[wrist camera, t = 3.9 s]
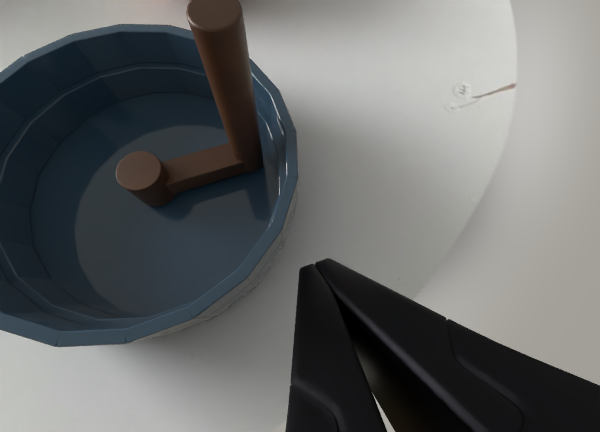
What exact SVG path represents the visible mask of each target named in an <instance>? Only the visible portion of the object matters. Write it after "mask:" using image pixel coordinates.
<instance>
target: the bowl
mask: <svg viewBox="0 0 600 432" xmlns="http://www.w3.org/2000/svg"><path fill="white" fill-rule="evenodd" d="M249 60H250V67H251V74H252V81H253V88H254V96H255V103H256V110H257V117H258V124H259V131H260V138H261V145H262V152H263V164H262V166H261V167H260V168H259V169H258V170H256V171H253V172H245V173H242V174H238V175H235V176H232V177H229V178H225V179H222V180H219V181H215V182H212V183H209V184H205V185H202V186H199V187H195V188H192V189H189V190H186V191H182V192H179V193H176V195H175V196H174V198H173V199H172V200H171V201H170V202H168V203H167V204H165V205H162V206H149V205H147V204H145V203H144V202H142V201H141V200H140V199H138V198H137V197H136V196H134V195H133V194H132V193H130V192H129V191H127V190H126V189H125V188H123V187H122V186H121V185H120V184H119V182H118V181H117V178H116V168H117V166H118V164H119V162H120V161H121V160H122V159H123V158H124V157H125V156H127V155H128V154H130V153H133V152H136V151H146V152H150V153H152V154H154V155H155V156H157V157H158V159H159V160H160V161H161V162H163V161H166V160H170V159H173V158H177V157H180V156H184V155H187V154H191V153H194V152H198V151H201V150H205V149H209V148H212V147H216V146H219V145H223V144H226V143H229V141H228V138H227V135H226V132H225V129H224V126H223V123H222V120H221V117H220V114H219V111H218V108H217V105H216V102H215V99H214V96H213V93H212V90H211V87H210V84H209V81H208V78H207V75H206V72H205V69H204V66H203V63H202V60H201V57H200V54H199V51H198V48H197V45H196V42H195V39H194V36H193V33H192V31H190V30H186V29H182V28H178V27H175V26H171V25H169V26H168V25H147V24H121V25H120V24H118V25H113V26H108V27H103V28H98V29H94V30H89V31H84V32H79V33H74V34H71V35H68V36H66V37H64V38H61V39H59V40H57V41H55V42H52V43H50V44H48V45H46V46H43V47H41V48H39V49H37V50H35V51H32V52H30V53H28V54H26V55H24V56H21V57H20V58H19V59H18V60H16V61H15V62H14V63H12V64H11V65H10V66H8V67H7V68H6V69H4V70H3V71H2V72H0V330H3V331H6V332H9V333H12V334H16V335H19V336H22V337H25V338H28V339H32V340H35V341H38V342H41V343H44V344H48V345H51V346H54V347H73V346H94V345H115V344H127V343H132V342H137V341H141V340H145V339H150V338H155V337H159V336H163V335H168V334H171V333H174V332H176V331H179V330H182V329H184V328H187V327H190V326H192V325H195V324H198V323H200V322H203V321H206V320H208V319H211V318H214V317H216V316H218V315H219V314H221V313H222V312H223V311H224V310H226V309H227V308H228V307H230V306H231V305H232V304H233V303H235V302H236V301H237V300H239V299H240V298H241V297H243V296H244V295H245V294H246V293H248V292H249V291H250V290H252V289H253V288H254V287H255V286H256V285H257V284H258V283H259V281H260V280H261V278H262V277H263V276H264V274H265V273H266V271H267V270H268V269H269V267H270V266H271V264H272V263H273V261H274V260H275V259H276V257H277V256H278V254H279V253H280V251H281V250H282V247H283V246H284V243H285V240H286V236H287V233H288V230H289V227H290V223H291V220H292V217H293V214H294V210H295V205H296V195H297V185H298V157H297V133H296V129H295V127H294V124H293V122H292V120H291V117H290V115H289V112H288V110H287V108H286V105H285V103H284V100H283V98H282V96H281V93H280V91H279V90H278V88H277V87H276V86H275V85H274V84H273V83H272V82H271V81H270V80H269V79H268V77H267V76H266V75H265V74H264V73H263V72H262V71H261V70H260V69H259V67H258V66H257V65H256V64H255V63H254V62H253V61H252V60H251V59H250V58H249Z"/></svg>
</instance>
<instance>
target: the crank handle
mask: <svg viewBox="0 0 600 432" xmlns="http://www.w3.org/2000/svg"><path fill="white" fill-rule="evenodd" d="M187 18H188V21H189V24H190V27H191V30H192V33H193V36H194V39H195V42H196V45H197V48H198V51H199V54H200V57H201V60H202V63H203V66H204V69H205V72H206V75H207V78H208V81H209V84H210V87H211V90H212V93H213V96H214V99H215V102H216V105H217V108H218V111H219V114H220V117H221V120H222V123H223V126H224V129H225V132H226V135H227V138H228V141H229V143H226V144H223V145H219V146H216V147H212V148H209V149H205V150H201V151H198V152H194V153H191V154H187V155H184V156H180V157H177V158H173V159H170V160H166V161H163V162H161V161H160V160H159V159H158V157H157V156H155V155H154V154H152V153H150V152H146V151H136V152H133V153H130V154H128V155H127V156H125V157H124V158H123V159H122V160H121V161H120V162H119V164H118V166H117V168H116V178H117V181H118V182H119V184H120V185H121V186H122V187H123V188H125V189H126V190H127V191H129V192H130V193H132V194H133V195H134V196H136V197H137V198H138V199H140V200H141V201H142V202H144V203H145V204H147V205H149V206H162V205H165V204H167V203H168V202H170V201H171V200H172V199H173V198H174V196H175V195H176V193H179V192H182V191H186V190H189V189H192V188H195V187H199V186H202V185H205V184H209V183H212V182H215V181H219V180H222V179H225V178H229V177H232V176H235V175H238V174H242V173H245V172H253V171H256V170H258V169H259V168H260V167H261V166H262V164H263V152H262V145H261V138H260V131H259V124H258V117H257V110H256V103H255V96H254V88H253V81H252V74H251V67H250V60H249V53H248V46H247V39H246V32H245V25H244V18H243V11H242V7H241V5H240V3H239V1H238V0H191V1H190V2H189V4H188V7H187Z"/></svg>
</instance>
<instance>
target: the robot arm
mask: <svg viewBox="0 0 600 432" xmlns="http://www.w3.org/2000/svg"><path fill="white" fill-rule="evenodd" d="M372 393H373V394H374V396H375V398H376V399H377V401H378V403H379V405H380V406H381V408H382V410H383V411H384V413H385V415H386V417H387V418H388V420H389V422H390V423H391V425H392V427H393V429H394V430H395V432H600V386H599V385H597V384H595V383H592V382H590V381H587V380H585V379H582V378H580V377H578V376H575V375H573V374H570V373H568V372H565V371H563V370H561V369H558V368H555V367H553V366H551V365H549V364H546V363H544V362H541V361H539V360H537V359H534V358H531V357H529V356H527V355H525V354H522V353H520V352H518V351H516V350H513V349H511V348H509V347H506V346H504V345H502V344H499V343H497V342H495V341H493V340H491V339H489V338H487V337H485V336H482V335H480V334H478V333H476V332H474V331H472V330H470V329H468V328H466V327H464V326H462V325H460V324H458V323H456V322H454V321H452V320H450V319H448V320H446V318H445V317H444V316H442V315H440V314H438V313H436V312H434V311H432V310H430V309H428V308H426V307H424V306H422V305H420V304H418V303H416V302H414V301H413V300H411V299H409V298H407V297H405V296H403V295H401V294H399V293H397V292H395V291H393V290H391V289H389V288H387V287H385V286H383V285H381V284H379V283H377V282H375V281H373V280H371V279H369V278H367V277H365V276H363V275H361V274H359V273H357V272H356V271H354V270H352V269H350V268H348V267H346V266H344V265H342V264H340V263H338V262H336V261H334V260H332V259H329V258H327V259H324V260H321V261H319V262H316V263H315V265H314V264H310V265H307V266H304V267H302V268H300V270H299V282H298V295H297V307H296V320H295V333H294V345H293V358H292V370H291V386H290V393H289V405H288V414H287V423H286V432H387V430H386V427H385V425H384V422H383V420H382V417H381V414H380V412H379V409H378V407H377V404H376V401H375V399H374V396H373V394H372Z"/></svg>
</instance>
